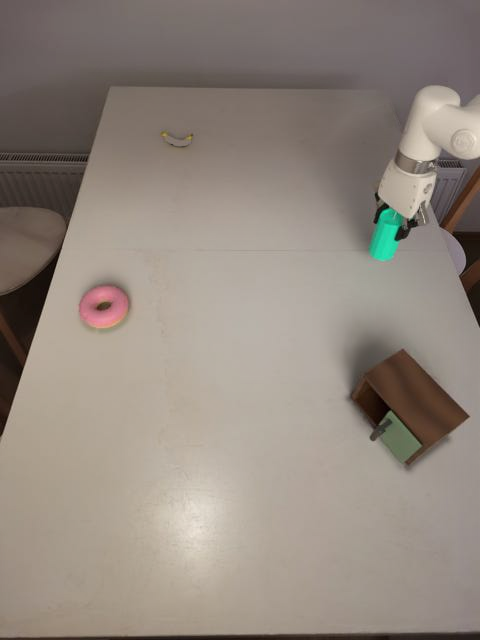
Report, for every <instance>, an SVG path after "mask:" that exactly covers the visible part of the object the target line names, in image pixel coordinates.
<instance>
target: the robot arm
mask: <svg viewBox="0 0 480 640" xmlns="http://www.w3.org/2000/svg"><path fill="white" fill-rule="evenodd" d="M442 150H444V151H446V152H447V153H448V154H450V155H452V156H453V157H456V158H457V159H461V160H464V161H465V160H466V161H470V160H471V161H472V160H475V159H478V158H480V93H479V94H476V96H474V97H473V98H472V99H471V100H470V101H469V102H468V103H466V105H464V106H461V97H460V95H459V94H458V93H457V92H456V90H454V89H452V88H451V87H448V86H444V85H438V84H437V85H434V84H433V85H427V86H424V87H422V88H421V89H419V90H418V91H417V92H416V94H415V96H414V99H413V100H412V103H411V107H410V110H409V113H408V116H407V119H406V122H405V125H404V128H403V132H402V135H401V138H400V141H399V144H398V147H397V150H396V153H395V154H394V155H393V156H392V158H390V161H389V163H388V164H387V166H386V168H385V170H384V172H383V174H382V177H381V179H379V180H377V181H375V182H372V184H371V187H372V190H373V193H374V198H375V201H376V203H375V207H376V210H375V214H374V219H373V222H372V223H373V224H374V225H377V222H378V219H379V216H380V214H381V213H382V211H383V210H386V209H388V208H391V209H394V210H395V211H397V212H398V213H399V214H401V215H402V226H400V227H399V229H398V231H397V234H396V237H395V241H396V242H398V241H399V240H400V241H401V240H405V239H407V238H408V237H409V235H410V232H411V231H412V229H413V228H418V227H425V226H426V225H428V224H430V218H429V215H428V212H427V209H428V206H429V204H430V202H431V199H432V196H433V193H434V189H435V186H436V182H437V181H436V180H437V174H438V173H439V172H440V170H441V167H442V166H440V165H439V163H438V162H439V160H440V155H441V152H442ZM417 216H418V218H417Z"/></svg>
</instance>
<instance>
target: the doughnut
mask: <svg viewBox="0 0 480 640" xmlns="http://www.w3.org/2000/svg"><path fill="white" fill-rule="evenodd" d="M103 303H110V306H109V307H107V309H105V308H104V309H103V310H99V309H98V306H100V305H102V304H103ZM77 305H78V313H79V316H80V318H81V320H82V321H83V322H84V323H85V324H87V325H88V326H90V327H93V328H97V329H107V328H110V327H114V326H115V325H117V324H119V323H120V322H121V321H122V320H123V319H125V317H126V316H127V314H128V312H129V305H130V301H129V297H128V296H127V294H126V292H124V291H123V289H121V288H119V286H115V285H109V284H108V285H104V284H102V285H98V286H95V287H93V288H91V289H89V290H88V291H86V293H84V294H83V296H81V299H80V301H79V304H77Z"/></svg>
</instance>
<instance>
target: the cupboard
mask: <svg viewBox="0 0 480 640" xmlns="http://www.w3.org/2000/svg"><path fill="white" fill-rule="evenodd" d="M350 399H351V401H352V402H353V403H354V404H355V405H356V406H357V408H358V409H359V410H360V411H361V413H362V414H363V415H364V416H365V417H366V418H367V420H368V421H369V422H370V423H371V424H372V425H373V427H374V429H376V427H377V426H378V425H379V424H380V422H381V421H382V420H383V418H384V417H385V416H386V414H387V413H388V412H389V411H390V410H391V411H392V412H393V413H394V414H395V416H396V417H397V418H398V419H399V420H400V421H401V422H402V423H403V425H404V426H405V427H406V428H407V429H408V430H409V431H410V432H411V434H412V435H413V436H414V437H415V438H416V439H417V440H418V442H419V443H420V444H421V445H422V446H421V447H420V448H419V449H418V450H417V451H416V452H415V453H414V454H413V455H411V456H410V457H409V458H408V459H407V460H406V461H405V462H404V463H405V464H406V465H407V467H409V466H411V465H412V464H413V463H414V462H415V461H417V460H418V459H419V458H421V457H422V456H424V455H425V454H426V453H427V452H429V451H430V450H431V449H433V448H434V447H435V446H437V445H438V444H439V443H440V442H442V441H443V440H445V439H446V438H447V437H448V436H450V434H452V433H453V432H454V431H455V430H457V428H459V427H460V426H461V425H462V424H464V423H465V422H466V421H467V420H468V419H469V418H471V416H470V414H469V413H468V412H467V411H466V410H465V409H464V408H462V406H461V405H459V403H458V402H457V401H456V400H455V399H454V398H453V397H452V396H451V395H450V394H449V393H448V392H447V391H446V390H445V389H444V388H443V387H442V386H441V385H440V384H439V383H438V382H437V381H436V380H435V379H434V378H433V377H432V376H431V375H430V374H429V373H428V372H427V371H426V370H425V369H424V368H423V367H422V366H421V365H420V364H419V363H418V362H417V360H416V359H414V358H413V357H412V356H411V355H410V354H409V353H408V352H407V351H406V350H405V349H404V348H401V349H400V350H398V351H396V352H395V353H393V354H392V355H391V356H389V357H387V358H386V359H384V360H383V361H381V362H379V363H377V364H376V365H375V366H373V367H371V368H370V369H368V370H367V371H365V372H363V373H362V375H361V377H360V379H359V381H358V383H357V384H356V386H355V388H354V390H353V391H352V394H351V396H350Z"/></svg>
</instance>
